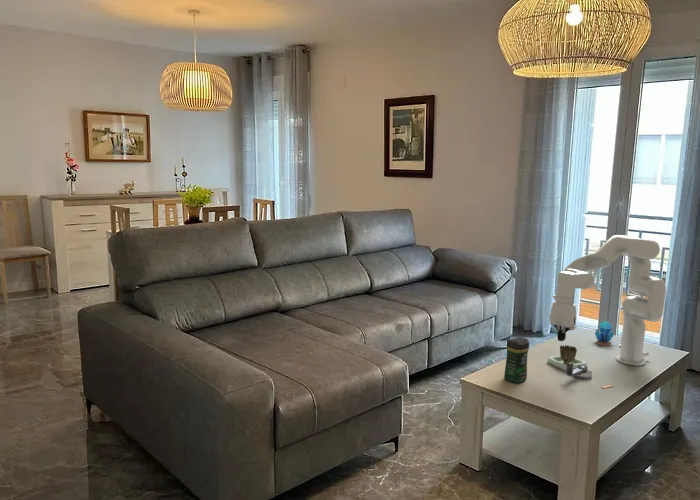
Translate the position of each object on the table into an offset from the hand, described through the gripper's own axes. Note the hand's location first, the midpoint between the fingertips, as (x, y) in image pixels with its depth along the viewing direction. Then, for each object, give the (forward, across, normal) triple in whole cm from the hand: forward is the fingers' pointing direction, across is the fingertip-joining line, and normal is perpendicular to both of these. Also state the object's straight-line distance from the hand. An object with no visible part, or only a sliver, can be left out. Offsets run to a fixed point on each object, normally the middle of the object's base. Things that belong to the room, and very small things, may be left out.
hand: (561, 340), depth 238 cm
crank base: (+16, +7, +8) cm, 19 cm away
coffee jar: (+17, -10, -19) cm, 27 cm away
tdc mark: (+16, +20, +3) cm, 26 cm away
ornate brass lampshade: (+15, -3, +15) cm, 22 cm away
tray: (+16, -3, +15) cm, 22 cm away
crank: (+14, +7, +3) cm, 15 cm away
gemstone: (+15, -5, +60) cm, 62 cm away
